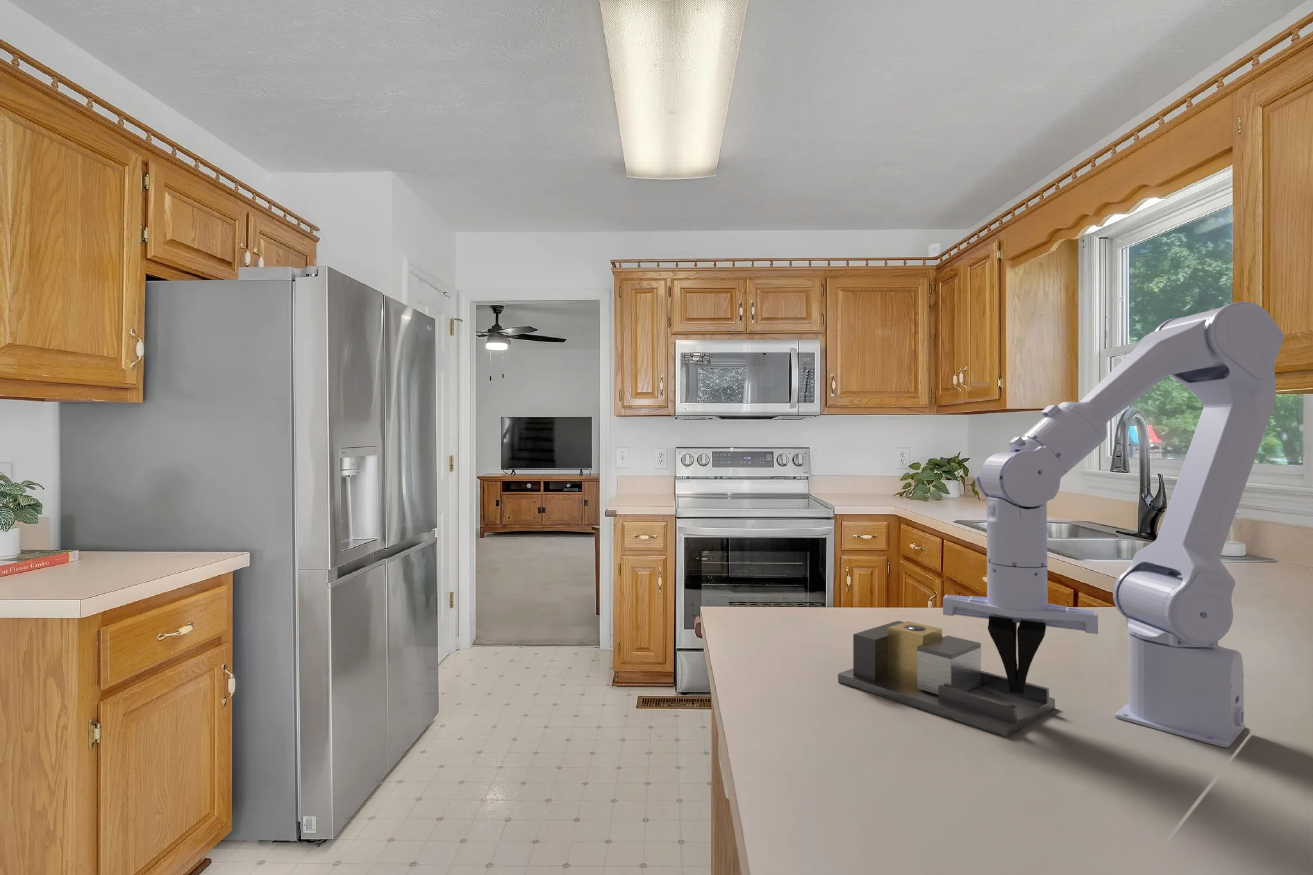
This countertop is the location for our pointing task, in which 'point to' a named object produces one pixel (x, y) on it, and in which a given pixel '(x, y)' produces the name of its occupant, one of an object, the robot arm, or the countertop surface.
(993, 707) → the press bed
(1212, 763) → the countertop surface
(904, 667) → the housing
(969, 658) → the block
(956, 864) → the countertop surface
